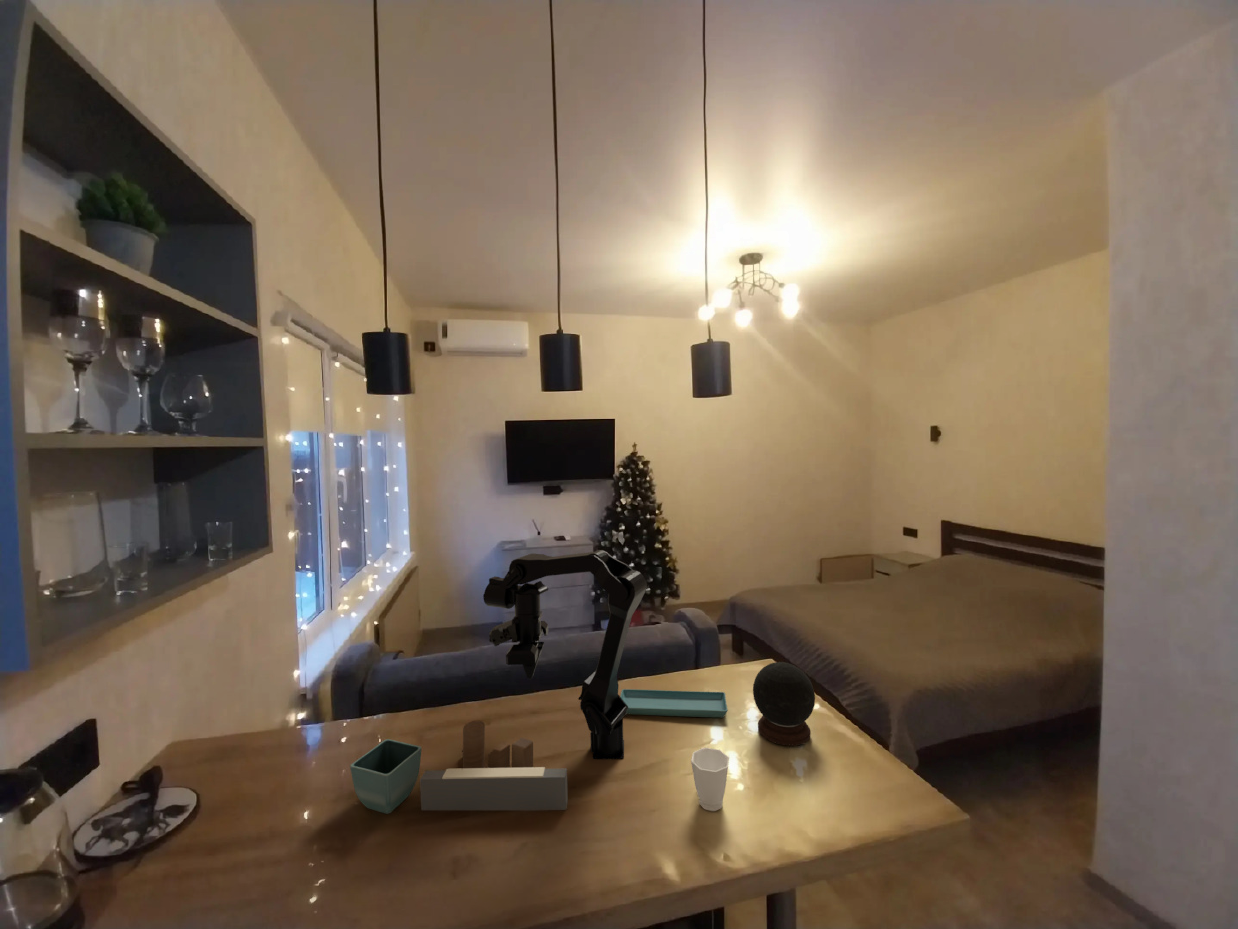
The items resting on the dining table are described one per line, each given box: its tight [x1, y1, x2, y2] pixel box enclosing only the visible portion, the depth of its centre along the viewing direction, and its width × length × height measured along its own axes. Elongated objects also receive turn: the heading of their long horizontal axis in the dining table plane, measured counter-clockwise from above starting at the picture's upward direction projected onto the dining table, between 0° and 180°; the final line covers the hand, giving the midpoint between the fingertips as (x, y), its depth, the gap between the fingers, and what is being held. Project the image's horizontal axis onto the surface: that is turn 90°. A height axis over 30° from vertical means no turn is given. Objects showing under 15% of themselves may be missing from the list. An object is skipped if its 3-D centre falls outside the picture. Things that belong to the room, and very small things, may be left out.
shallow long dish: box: [619, 688, 729, 718], centre depth 123 cm, size 26×9×2 cm, turn 82°
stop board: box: [419, 766, 569, 811], centre depth 90 cm, size 26×2×6 cm, turn 89°
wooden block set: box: [461, 720, 534, 768], centre depth 99 cm, size 18×9×10 cm, turn 62°
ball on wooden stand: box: [752, 661, 816, 747], centre depth 111 cm, size 13×13×15 cm
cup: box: [690, 747, 730, 812], centre depth 91 cm, size 7×10×8 cm
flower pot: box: [349, 738, 423, 815], centre depth 92 cm, size 9×9×9 cm
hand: (529, 678), depth 114 cm, fingers closed
